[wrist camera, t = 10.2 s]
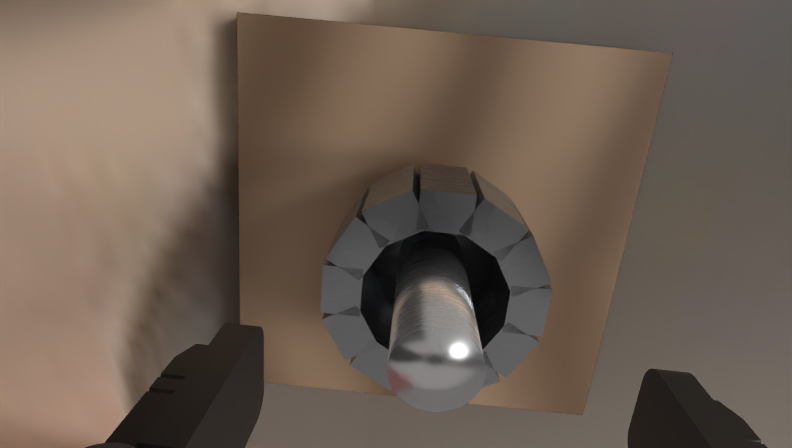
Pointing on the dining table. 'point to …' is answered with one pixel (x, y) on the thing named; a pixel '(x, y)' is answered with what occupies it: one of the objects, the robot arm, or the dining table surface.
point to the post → (434, 318)
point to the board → (443, 145)
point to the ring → (446, 213)
